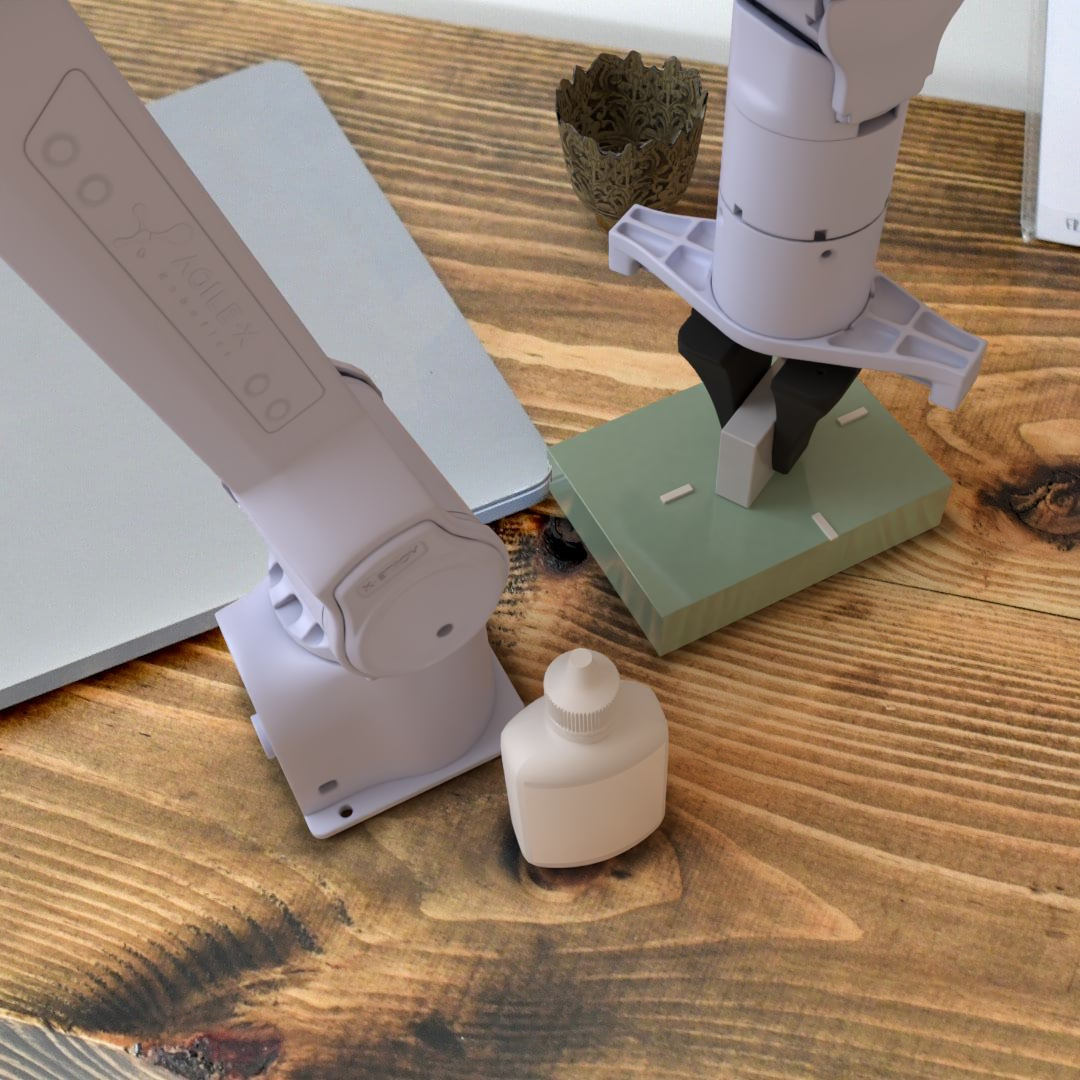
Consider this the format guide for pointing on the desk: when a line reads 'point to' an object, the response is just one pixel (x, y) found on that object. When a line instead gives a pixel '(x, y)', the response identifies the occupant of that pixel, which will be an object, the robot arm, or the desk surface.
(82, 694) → the desk surface
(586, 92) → the cup
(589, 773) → the eye dropper bottle
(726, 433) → the tap handle
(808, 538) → the plate
